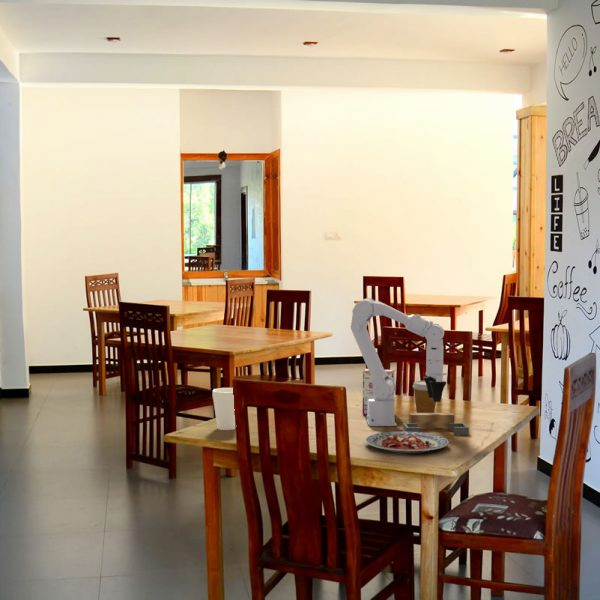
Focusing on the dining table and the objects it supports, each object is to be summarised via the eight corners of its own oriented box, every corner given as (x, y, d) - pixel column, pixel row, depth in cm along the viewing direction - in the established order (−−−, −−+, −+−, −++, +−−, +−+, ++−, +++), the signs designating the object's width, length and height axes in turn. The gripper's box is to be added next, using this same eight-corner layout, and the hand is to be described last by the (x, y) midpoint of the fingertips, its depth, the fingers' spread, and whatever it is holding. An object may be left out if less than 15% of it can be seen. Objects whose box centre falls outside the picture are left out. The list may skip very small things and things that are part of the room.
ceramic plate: (354, 453, 280) (355, 443, 279) (377, 435, 304) (377, 426, 303) (439, 460, 271) (439, 450, 270) (455, 441, 295) (455, 432, 294)
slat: (410, 429, 313) (410, 414, 312) (408, 427, 316) (408, 412, 316) (454, 429, 313) (454, 414, 312) (452, 427, 316) (452, 412, 316)
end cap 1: (406, 435, 303) (406, 427, 302) (403, 430, 310) (403, 423, 310) (420, 435, 303) (421, 427, 302) (417, 430, 310) (417, 423, 310)
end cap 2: (454, 435, 303) (454, 427, 303) (449, 430, 310) (450, 423, 310) (468, 435, 303) (468, 427, 303) (464, 430, 310) (464, 422, 310)
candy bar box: (362, 415, 335) (362, 370, 334) (363, 412, 340) (364, 368, 339) (393, 416, 333) (393, 371, 332) (394, 413, 338) (394, 369, 337)
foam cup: (215, 424, 318) (215, 387, 317) (241, 425, 318) (241, 388, 317) (211, 430, 309) (210, 392, 308) (238, 431, 308) (238, 392, 307)
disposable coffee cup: (437, 413, 340) (438, 380, 339) (439, 418, 330) (439, 385, 329) (411, 412, 341) (412, 380, 340) (412, 417, 331) (412, 384, 330)
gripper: (451, 362, 307) (451, 403, 308) (441, 357, 321) (441, 395, 322) (430, 363, 306) (430, 403, 307) (421, 357, 320) (421, 396, 321)
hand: (434, 399), depth 314 cm, fingers open, 7 cm apart
